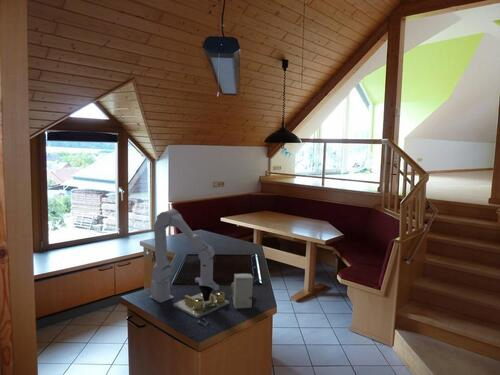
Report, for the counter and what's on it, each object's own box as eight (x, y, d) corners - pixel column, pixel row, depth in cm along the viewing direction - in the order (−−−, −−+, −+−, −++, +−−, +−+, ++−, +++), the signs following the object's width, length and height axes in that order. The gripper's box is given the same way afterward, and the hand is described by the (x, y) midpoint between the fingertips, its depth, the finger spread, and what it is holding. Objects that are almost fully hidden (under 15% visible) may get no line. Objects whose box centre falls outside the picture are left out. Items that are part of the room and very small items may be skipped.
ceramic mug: (233, 292, 183) (233, 278, 182) (249, 293, 182) (249, 279, 181) (228, 301, 173) (228, 286, 172) (244, 303, 172) (244, 287, 171)
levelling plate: (172, 306, 166) (172, 295, 165) (205, 293, 181) (205, 283, 180) (196, 318, 155) (196, 306, 154) (229, 303, 170) (229, 292, 169)
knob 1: (205, 307, 162) (205, 299, 162) (197, 310, 159) (197, 302, 158) (189, 300, 169) (189, 292, 169) (181, 303, 166) (181, 295, 166)
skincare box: (234, 309, 165) (235, 278, 163) (232, 303, 171) (233, 273, 169) (252, 307, 166) (253, 277, 165) (250, 302, 172) (250, 272, 170)
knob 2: (200, 294, 176) (200, 286, 176) (208, 292, 178) (208, 285, 178) (208, 303, 166) (208, 295, 166) (217, 301, 168) (217, 293, 168)
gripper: (189, 270, 168) (189, 298, 169) (211, 278, 158) (210, 308, 160) (201, 267, 173) (201, 294, 175) (222, 274, 164) (221, 303, 165)
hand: (206, 300), depth 168 cm, fingers closed
